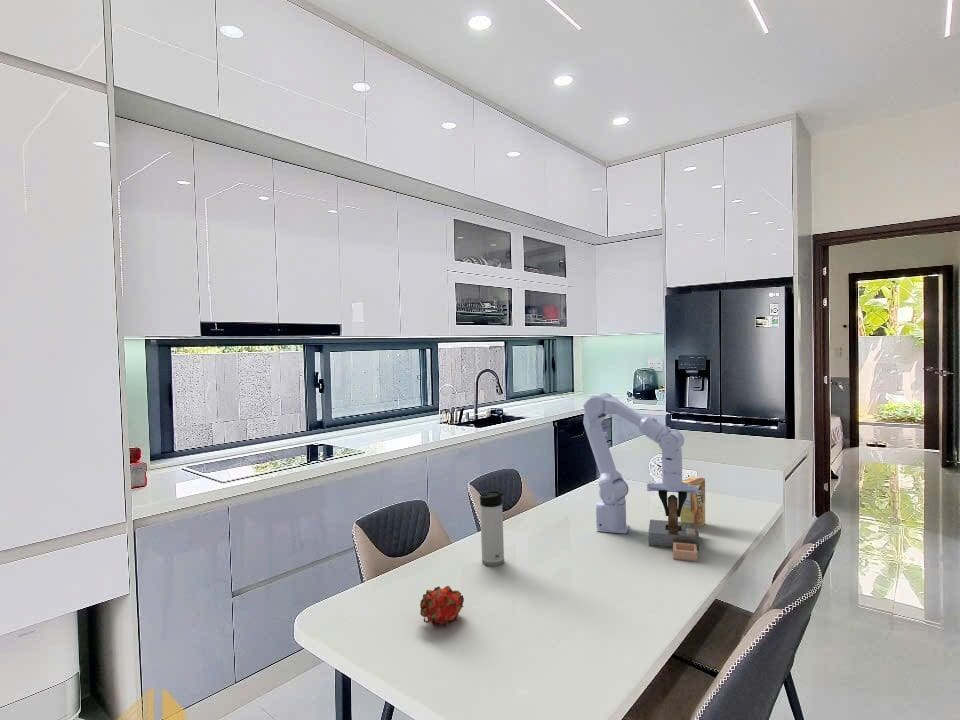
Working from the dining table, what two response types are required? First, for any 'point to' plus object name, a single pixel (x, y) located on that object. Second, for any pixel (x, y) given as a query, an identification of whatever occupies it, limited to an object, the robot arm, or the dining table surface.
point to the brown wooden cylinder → (672, 512)
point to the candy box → (694, 502)
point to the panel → (672, 534)
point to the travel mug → (492, 528)
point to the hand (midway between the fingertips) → (672, 515)
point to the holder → (684, 551)
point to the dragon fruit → (441, 605)
